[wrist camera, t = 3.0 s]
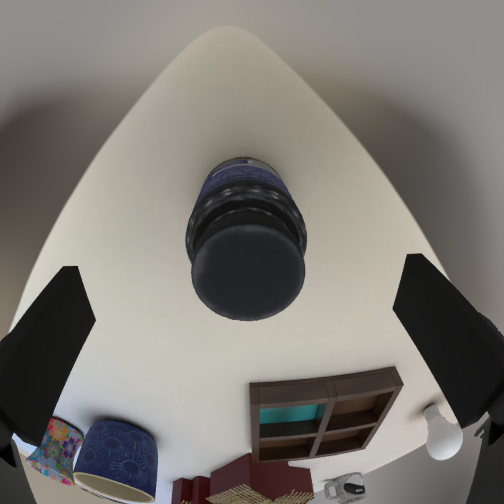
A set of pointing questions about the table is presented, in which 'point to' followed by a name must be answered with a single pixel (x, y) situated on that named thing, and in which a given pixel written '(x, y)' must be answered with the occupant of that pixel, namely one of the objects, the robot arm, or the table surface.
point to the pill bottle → (246, 242)
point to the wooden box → (319, 414)
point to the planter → (118, 462)
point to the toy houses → (247, 485)
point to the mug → (347, 489)
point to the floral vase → (57, 452)
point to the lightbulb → (441, 435)
